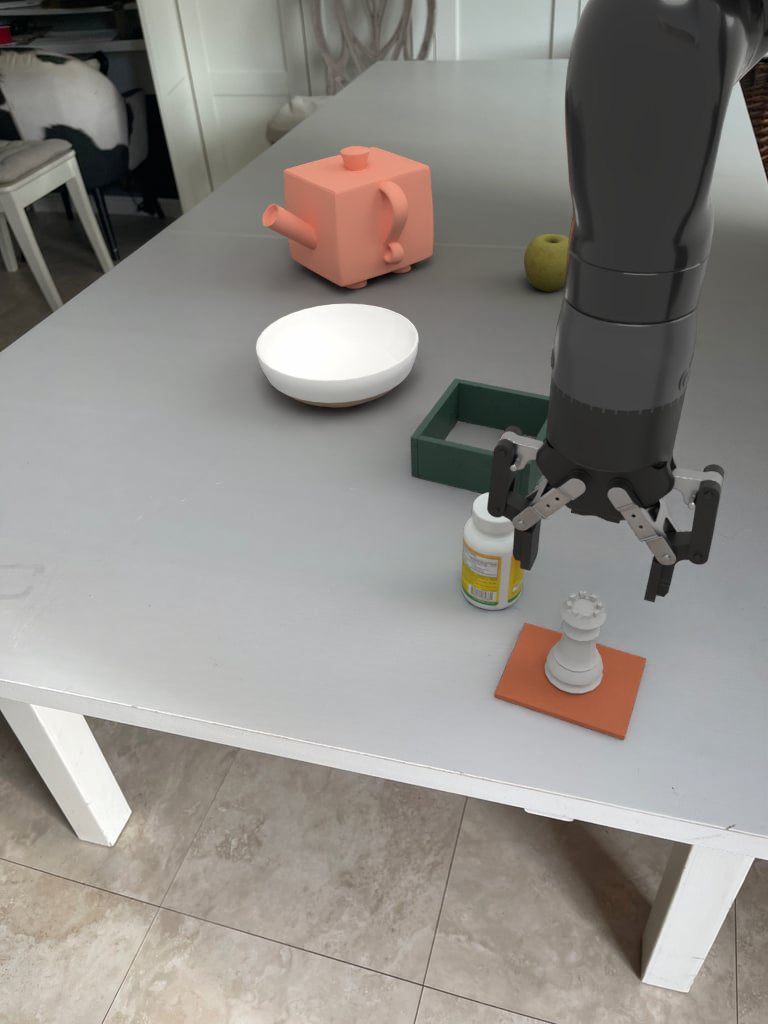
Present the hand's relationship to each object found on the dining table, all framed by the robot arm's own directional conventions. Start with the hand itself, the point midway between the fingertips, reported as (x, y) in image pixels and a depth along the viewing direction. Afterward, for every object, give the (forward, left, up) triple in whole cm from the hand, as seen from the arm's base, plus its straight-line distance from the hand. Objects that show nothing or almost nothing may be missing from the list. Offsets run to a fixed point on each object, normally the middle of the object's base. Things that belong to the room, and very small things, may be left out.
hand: (588, 577), depth 56 cm
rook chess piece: (0, 0, -11) cm, 11 cm away
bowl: (+38, -34, -12) cm, 53 cm away
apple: (+22, -70, -12) cm, 75 cm away
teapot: (+53, -64, -12) cm, 84 cm away
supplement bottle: (+9, -7, -12) cm, 16 cm away
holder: (+16, -26, -12) cm, 33 cm away
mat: (0, 0, -12) cm, 12 cm away
